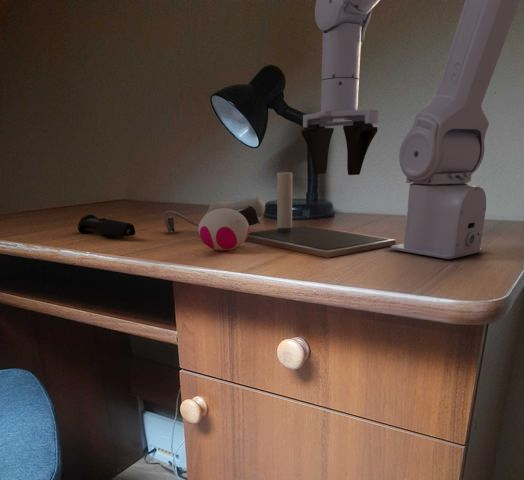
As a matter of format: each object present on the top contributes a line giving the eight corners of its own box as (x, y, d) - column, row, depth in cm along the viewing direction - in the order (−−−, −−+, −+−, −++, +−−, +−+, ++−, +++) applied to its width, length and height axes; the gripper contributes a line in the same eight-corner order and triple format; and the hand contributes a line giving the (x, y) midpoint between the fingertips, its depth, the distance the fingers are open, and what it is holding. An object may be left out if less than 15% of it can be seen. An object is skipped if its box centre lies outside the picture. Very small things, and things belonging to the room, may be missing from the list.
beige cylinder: (295, 231, 81) (295, 172, 77) (283, 232, 79) (283, 173, 76) (285, 229, 82) (285, 172, 79) (274, 230, 81) (274, 172, 78)
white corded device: (157, 255, 83) (259, 233, 78) (144, 218, 80) (249, 192, 75) (180, 237, 93) (271, 216, 88) (169, 203, 90) (262, 180, 85)
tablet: (395, 245, 73) (396, 238, 72) (327, 258, 65) (327, 251, 64) (304, 230, 87) (304, 224, 87) (239, 239, 79) (239, 233, 79)
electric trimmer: (121, 244, 78) (118, 223, 77) (76, 233, 88) (73, 214, 87) (141, 241, 80) (140, 221, 79) (96, 230, 90) (93, 212, 89)
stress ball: (197, 272, 72) (178, 239, 67) (218, 234, 76) (201, 199, 71) (243, 275, 69) (227, 240, 64) (262, 235, 73) (248, 198, 68)
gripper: (289, 84, 79) (289, 174, 84) (358, 72, 68) (353, 176, 73) (321, 86, 83) (318, 172, 88) (390, 76, 72) (383, 174, 77)
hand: (336, 174), depth 81 cm, fingers open, 7 cm apart
